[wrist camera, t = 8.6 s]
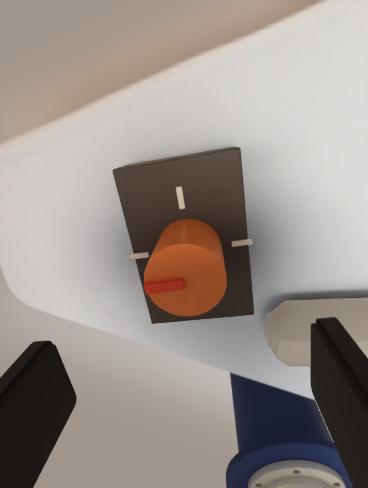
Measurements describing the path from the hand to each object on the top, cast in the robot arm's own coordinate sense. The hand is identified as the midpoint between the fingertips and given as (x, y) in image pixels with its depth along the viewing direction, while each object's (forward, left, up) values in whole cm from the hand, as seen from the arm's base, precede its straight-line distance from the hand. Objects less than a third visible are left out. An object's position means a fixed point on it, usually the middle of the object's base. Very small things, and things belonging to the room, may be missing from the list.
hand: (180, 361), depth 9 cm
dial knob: (+1, 0, -9) cm, 9 cm away
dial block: (+1, 0, -12) cm, 12 cm away
